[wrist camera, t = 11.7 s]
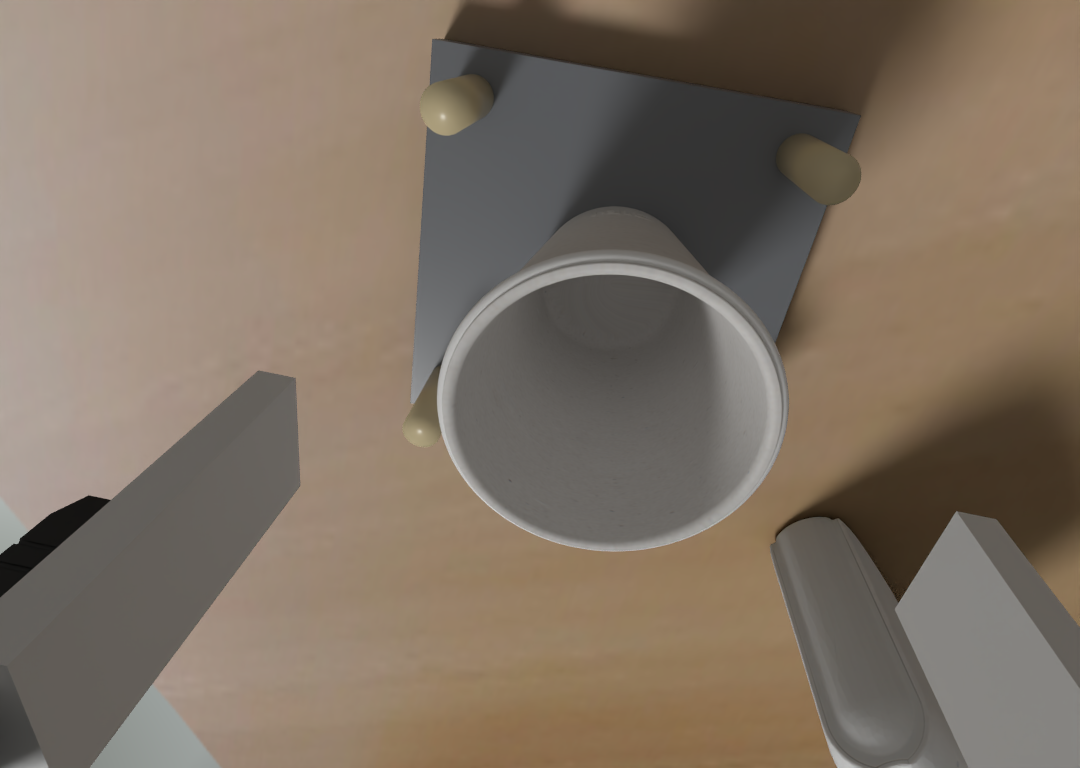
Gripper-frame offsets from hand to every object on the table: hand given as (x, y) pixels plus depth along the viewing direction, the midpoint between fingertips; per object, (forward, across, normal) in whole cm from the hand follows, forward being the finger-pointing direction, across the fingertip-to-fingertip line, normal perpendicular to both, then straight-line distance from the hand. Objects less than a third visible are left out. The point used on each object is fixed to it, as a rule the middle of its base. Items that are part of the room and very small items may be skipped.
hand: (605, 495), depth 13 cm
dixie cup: (+13, 0, 0) cm, 13 cm away
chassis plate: (+14, +1, 0) cm, 14 cm away
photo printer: (+15, -14, +14) cm, 25 cm away
